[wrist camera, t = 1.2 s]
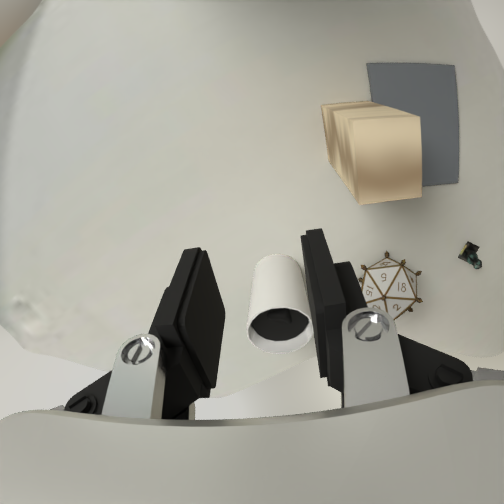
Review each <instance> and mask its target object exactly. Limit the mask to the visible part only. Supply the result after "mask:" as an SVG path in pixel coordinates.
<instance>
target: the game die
mask: <svg viewBox="0 0 504 504" xmlns="http://www.w3.org/2000/svg"><path fill="white" fill-rule="evenodd" d="M388 256H389V253H388V252H387V251H386V253H385V257H386V258H385V259H383V260H381V261H379V262H378V263H376V264H374V265H372V266H371V267H369V268H366V266H365V265H361V268H362V269H363V270H365V273H364V277H363V279H362V278H359V279H358V280H359V282H362V288H361V290H362V293H363V295H364V298H365V300H366V303H367V306H368V308H377V309H381V310H383V311H385V312H387V313H388V314H389V315H390V316H391V317H392V318H393V320H395V319H397V318H398V317H399V316H400V315H402V314H403V313H404V312H405V311H407V310H408V311H409V312H413V309H412V308H411V306H412V305H413V304H414V303H415V302H416V301H417V302H419V303H421V302H423V301H422V300H421V298H417V277H416V276H419V275H420V274H421V272H422V271H418V272H416V273H414V272H413V271H411V270H410V269H408V268H407V267H405V266H404V265H405V263H406V262H405V259H404V260H402V262H401V264H400V263H398V262H396V261H394V260H392V259H390V258H388Z"/></svg>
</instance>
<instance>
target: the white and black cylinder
mask: <svg viewBox="0 0 504 504" xmlns="http://www.w3.org/2000/svg"><path fill="white" fill-rule="evenodd" d="M246 331H247V337H248V339H249V341H250V342H251V343H252V344H253V346H255V347H256V348H258V349H260V350H262V351H263V352H268V353H273V354H284V353H290V352H293V351H296V350H299V349H300V348H302V347H303V346H304V345H306V344H307V343H308V342H309V341H310V339H311V337H312V336H313V332H314V331H313V325H312V319H311V313H310V307H309V302H308V298H307V294H306V290H305V286H304V282H303V278H302V274H301V270H300V267H299V265H298V263H297V261H295V260H294V259H293V258H291V257H290V256H287V255H283V254H271V255H268V256H266V257H264V258H262V259H261V260H260V261H259V262H258V263H257V264H256V266H255V269H254V273H253V281H252V288H251V296H250V304H249V312H248V319H247V327H246Z"/></svg>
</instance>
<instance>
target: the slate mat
mask: <svg viewBox="0 0 504 504" xmlns="http://www.w3.org/2000/svg"><path fill="white" fill-rule="evenodd" d="M367 70H368V77H369V83H370V91H371V99H372V102H374V103H377V104H381V105H384V106H388V107H391V108H394V109H398V110H401V111H404V112H407V113H410V114H413V115H416V116H419V117H420V124H421V146H422V186H431V185H440V184H450V183H458V175H459V117H458V99H457V86H456V76H455V67H454V65H443V64H424V63H367Z"/></svg>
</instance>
